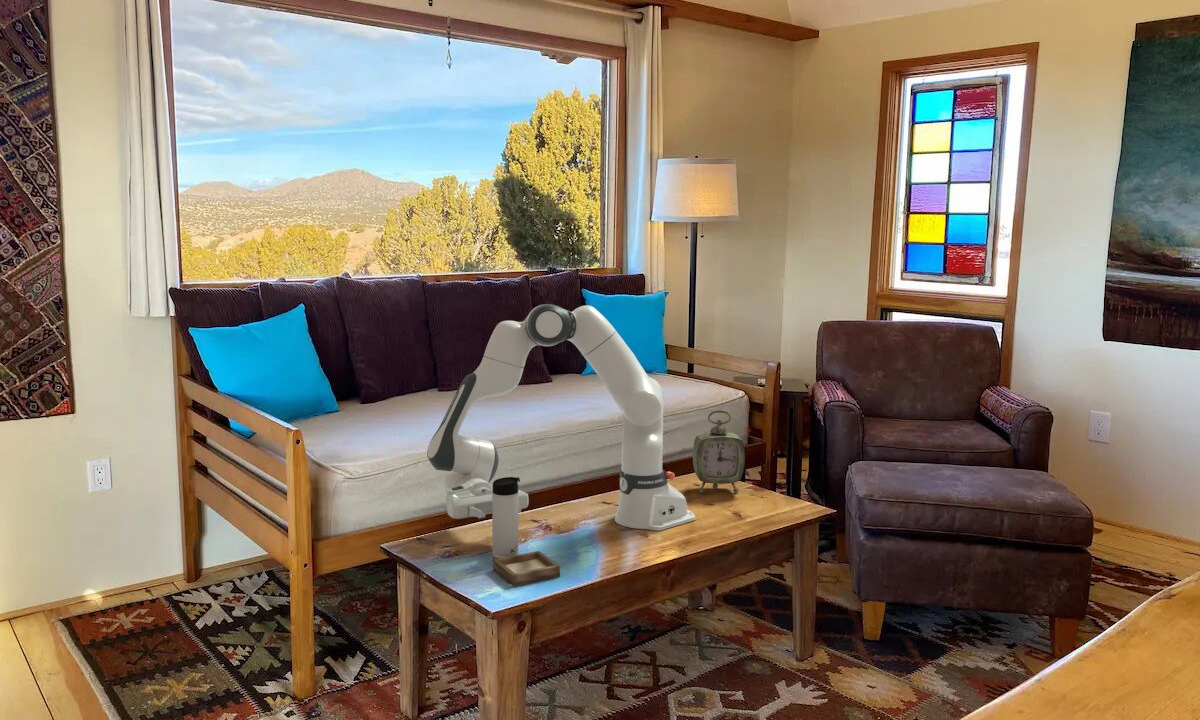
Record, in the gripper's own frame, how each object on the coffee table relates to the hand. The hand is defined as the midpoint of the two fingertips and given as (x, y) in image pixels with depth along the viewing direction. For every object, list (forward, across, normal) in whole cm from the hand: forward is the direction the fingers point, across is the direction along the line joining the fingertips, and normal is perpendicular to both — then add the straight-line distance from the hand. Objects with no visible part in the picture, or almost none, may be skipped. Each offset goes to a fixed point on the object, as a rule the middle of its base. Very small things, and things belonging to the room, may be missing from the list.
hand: (500, 512), depth 225 cm
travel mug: (+2, 0, -11) cm, 12 cm away
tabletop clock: (-19, -80, -11) cm, 83 cm away
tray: (+13, 0, -11) cm, 17 cm away
